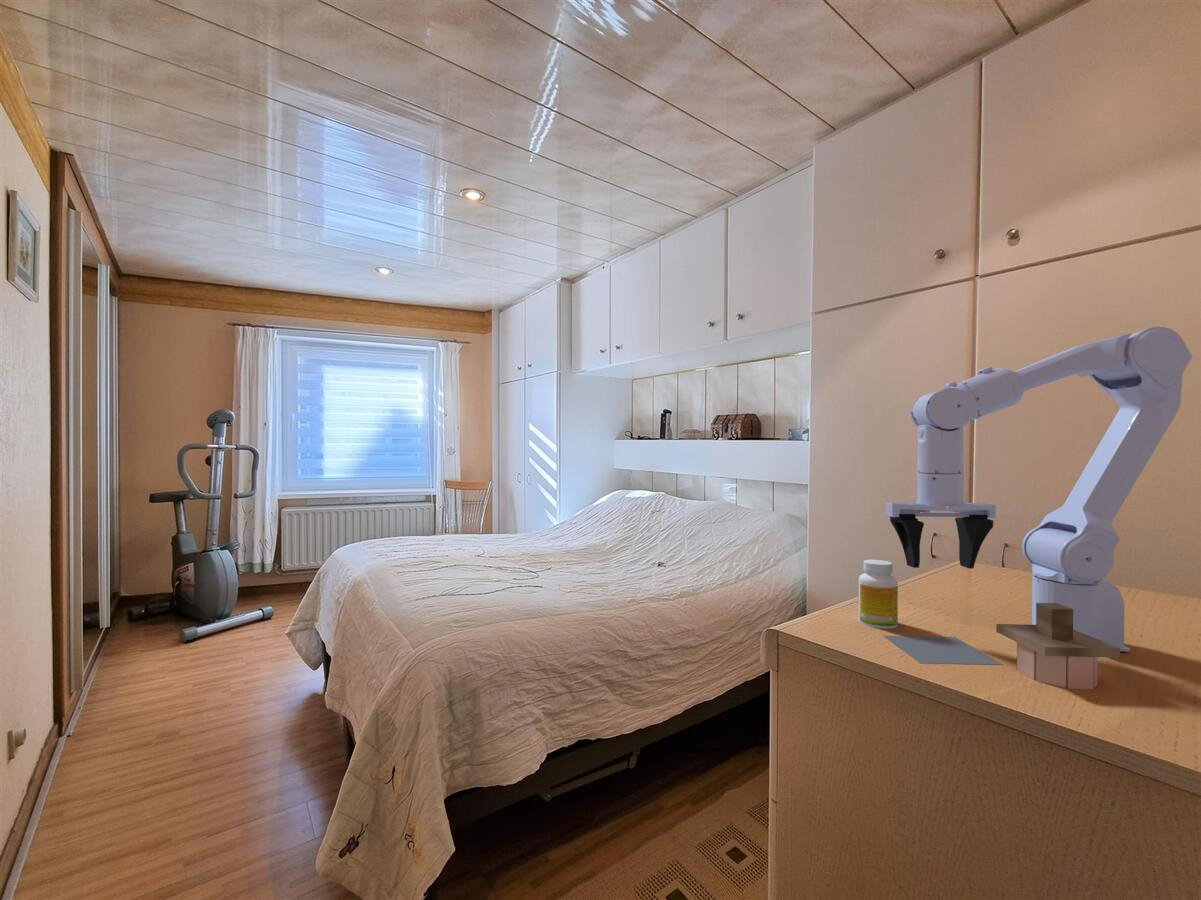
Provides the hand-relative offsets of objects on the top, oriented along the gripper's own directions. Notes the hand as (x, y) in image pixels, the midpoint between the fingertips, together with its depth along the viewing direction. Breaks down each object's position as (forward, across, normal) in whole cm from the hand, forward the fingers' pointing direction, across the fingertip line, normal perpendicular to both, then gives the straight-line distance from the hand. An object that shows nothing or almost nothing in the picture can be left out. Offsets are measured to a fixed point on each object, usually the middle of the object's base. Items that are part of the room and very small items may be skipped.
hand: (939, 566), depth 80 cm
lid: (+6, +5, -15) cm, 17 cm away
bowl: (+10, +5, -15) cm, 19 cm away
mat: (+10, -4, -7) cm, 13 cm away
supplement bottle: (+10, -7, +4) cm, 13 cm away
